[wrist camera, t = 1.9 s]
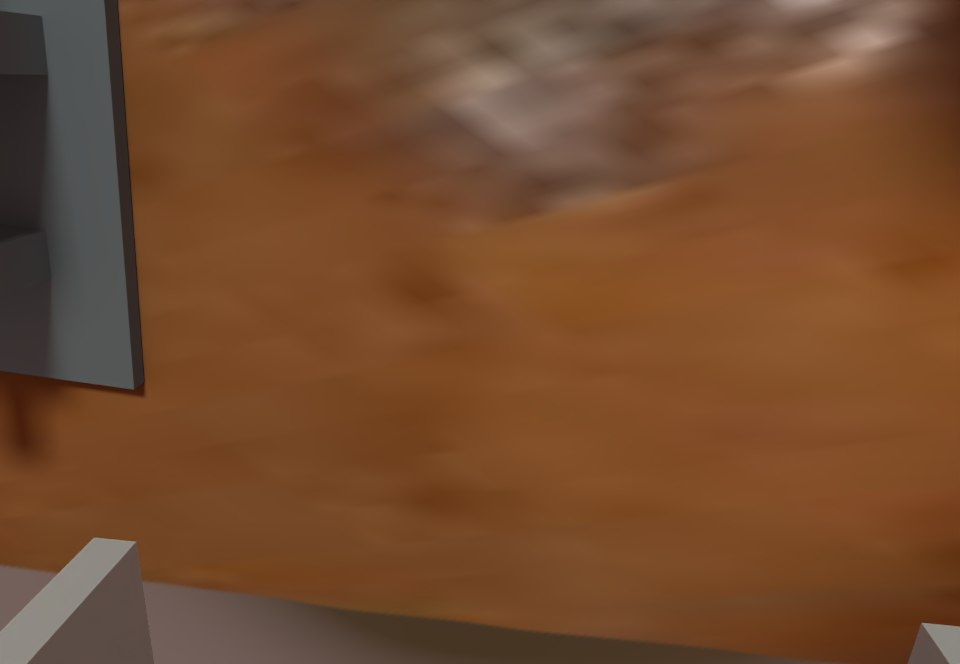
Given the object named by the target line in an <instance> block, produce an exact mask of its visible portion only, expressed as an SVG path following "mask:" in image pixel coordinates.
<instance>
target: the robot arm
mask: <svg viewBox="0 0 960 664" xmlns="http://www.w3.org/2000/svg"><path fill="white" fill-rule="evenodd" d="M0 664H154V660H153V653H152V646H151V639H150V633H149V626H148V620H147V612H146V605H145V599H144V592H143V585H142V578H141V571H140V565H139V558H138V551H137V544H136V542H132V541H122V540H113V539H103V538H93V539H92V540H91V541H90V542H89V543H88V544H87V545H86V546H85V547H84V548H83V549H82V550H81V551H80V552H79V553H78V554H77V555H76V556H75V557H74V558H73V559H72V560H71V561H70V562H69V563H68V564H67V565H66V566H65V567H64V568H63V569H62V570H61V571H60V572H59V573H58V574H57V575H56V576H55V577H54V578H53V579H52V580H51V581H50V582H49V583H48V584H47V585H46V586H45V587H44V588H43V589H42V590H41V591H40V592H39V593H38V594H37V595H36V596H35V598H33V599H32V600H31V601H30V602H29V604H27V605H26V607H24V608H23V609H22V610H21V611H20V612H19V613H18V614H17V615H16V616H15V618H13V619H12V620H11V621H10V622H9V623H8V624H7V626H6V627H4V628H3V629H2V630H1V632H0ZM908 664H960V627H958V626H948V625H939V624H929V623H921V625H920V628H919V631H918V634H917V637H916V640H915V643H914V646H913V649H912V652H911V655H910V658H909V661H908Z"/></svg>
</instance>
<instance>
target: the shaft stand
mask: <svg viewBox="0 0 960 664" xmlns="http://www.w3.org/2000/svg"><path fill="white" fill-rule="evenodd" d="M0 371H4V372H11V373H18V374H25V375H32V376H40V377H47V378H54V379H61V380H68V381H75V382H83V383H90V384H97V385H104V386H111V387H118V388H125V389H133V390H134V389H136V388H137V387H138V386H140V385H141V384H142V383H144V372H143V358H142V344H141V330H140V316H139V302H138V288H137V273H136V259H135V245H134V231H133V217H132V203H131V189H130V175H129V161H128V147H127V133H126V119H125V105H124V90H123V76H122V62H121V48H120V34H119V20H118V6H117V0H0Z"/></svg>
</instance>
